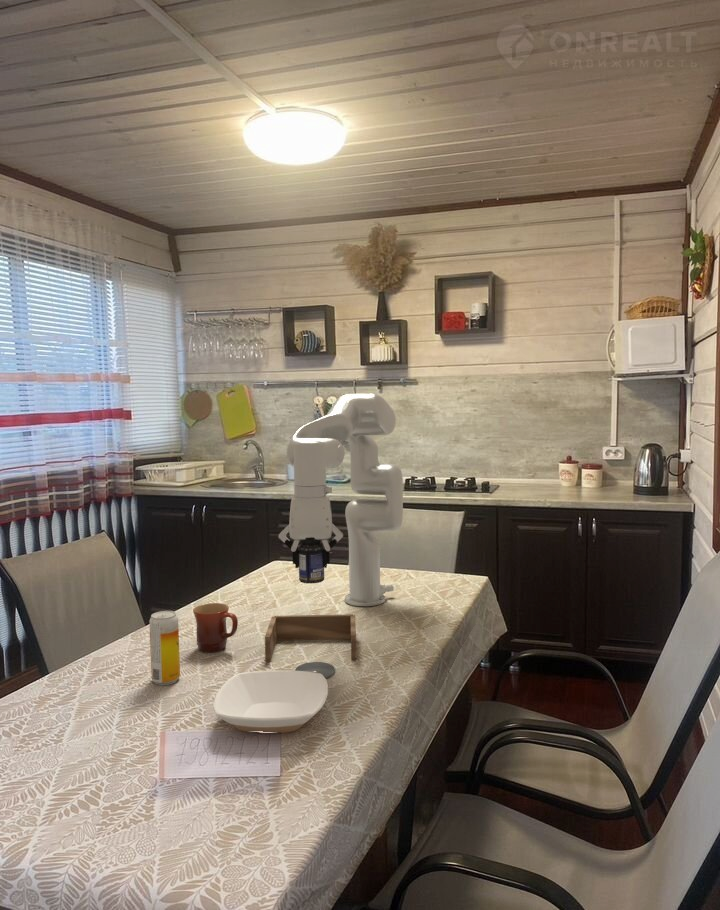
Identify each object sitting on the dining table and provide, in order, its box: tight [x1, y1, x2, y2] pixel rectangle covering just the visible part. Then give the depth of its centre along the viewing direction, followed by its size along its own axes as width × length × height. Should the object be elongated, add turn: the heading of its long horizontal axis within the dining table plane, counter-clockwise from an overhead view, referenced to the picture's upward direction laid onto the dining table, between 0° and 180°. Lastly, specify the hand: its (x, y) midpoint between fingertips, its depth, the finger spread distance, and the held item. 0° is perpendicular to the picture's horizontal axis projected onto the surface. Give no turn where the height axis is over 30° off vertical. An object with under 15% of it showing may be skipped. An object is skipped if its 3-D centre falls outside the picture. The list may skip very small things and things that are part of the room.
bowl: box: [212, 669, 329, 734], centre depth 129 cm, size 22×22×5 cm
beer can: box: [149, 610, 181, 686], centre depth 147 cm, size 6×6×15 cm
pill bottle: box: [298, 537, 325, 584], centre depth 159 cm, size 6×6×11 cm
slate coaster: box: [294, 661, 336, 680], centre depth 151 cm, size 9×9×1 cm
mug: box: [192, 602, 239, 653], centre depth 165 cm, size 12×9×10 cm
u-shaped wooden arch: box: [264, 613, 357, 663], centre depth 165 cm, size 16×22×6 cm
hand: (311, 566), depth 159 cm, fingers closed on pill bottle, 6 cm apart
